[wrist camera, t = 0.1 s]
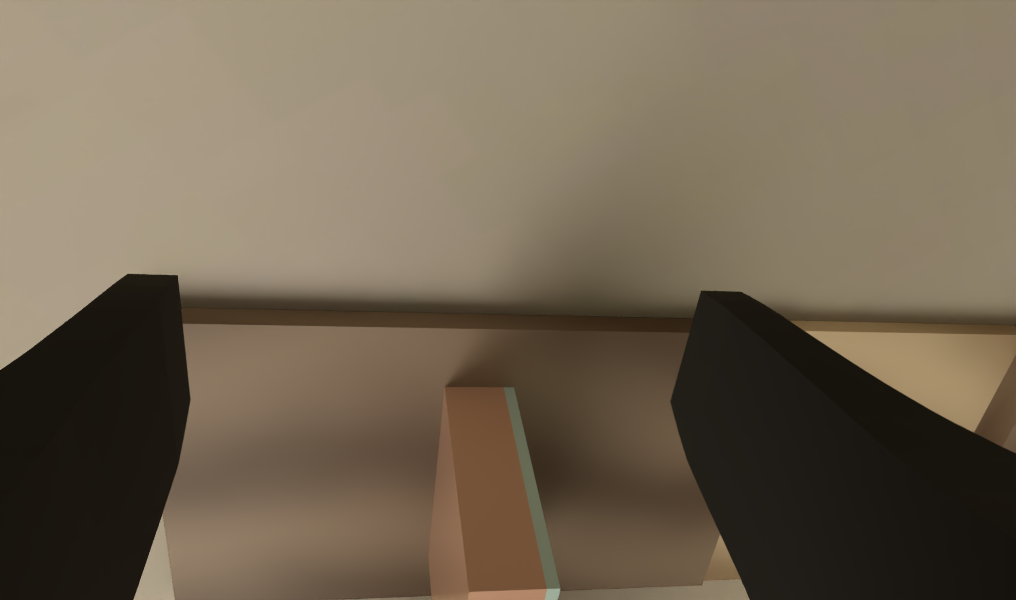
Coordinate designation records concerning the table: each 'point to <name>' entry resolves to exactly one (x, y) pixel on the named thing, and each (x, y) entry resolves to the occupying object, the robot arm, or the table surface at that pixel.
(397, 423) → the board
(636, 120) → the table surface
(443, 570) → the tile
